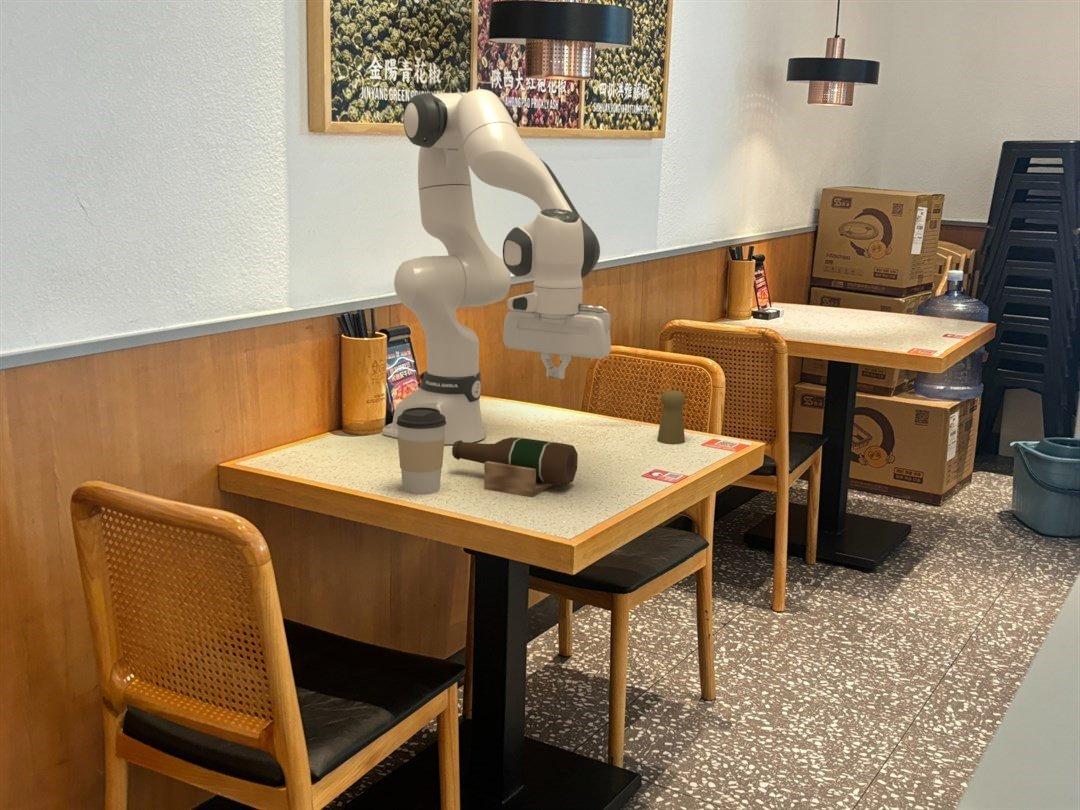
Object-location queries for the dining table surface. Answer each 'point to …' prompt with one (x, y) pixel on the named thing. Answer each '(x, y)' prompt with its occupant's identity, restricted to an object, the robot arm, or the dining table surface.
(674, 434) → the cork
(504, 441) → the beer bottle
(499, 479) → the walnut rest
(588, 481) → the dining table surface
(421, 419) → the coffee cup
